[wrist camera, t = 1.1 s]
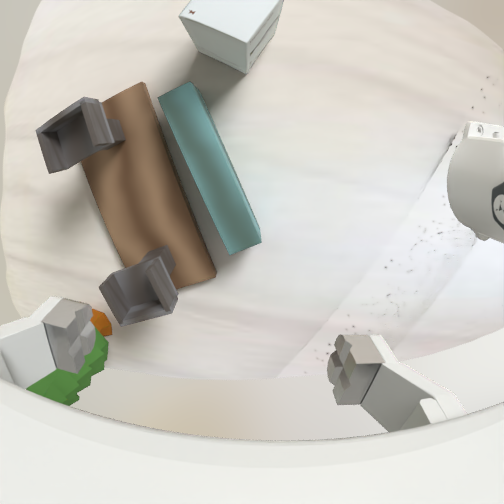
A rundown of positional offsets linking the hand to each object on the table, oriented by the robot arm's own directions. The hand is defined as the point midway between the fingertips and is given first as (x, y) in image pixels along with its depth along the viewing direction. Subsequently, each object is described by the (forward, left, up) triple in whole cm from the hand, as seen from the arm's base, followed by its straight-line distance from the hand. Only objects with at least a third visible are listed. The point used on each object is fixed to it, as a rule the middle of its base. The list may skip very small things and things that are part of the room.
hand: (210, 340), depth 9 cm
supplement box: (-6, -19, -31) cm, 37 cm away
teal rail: (+2, -4, -31) cm, 31 cm away
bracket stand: (+13, -4, -31) cm, 34 cm away
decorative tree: (+31, +13, -31) cm, 46 cm away
